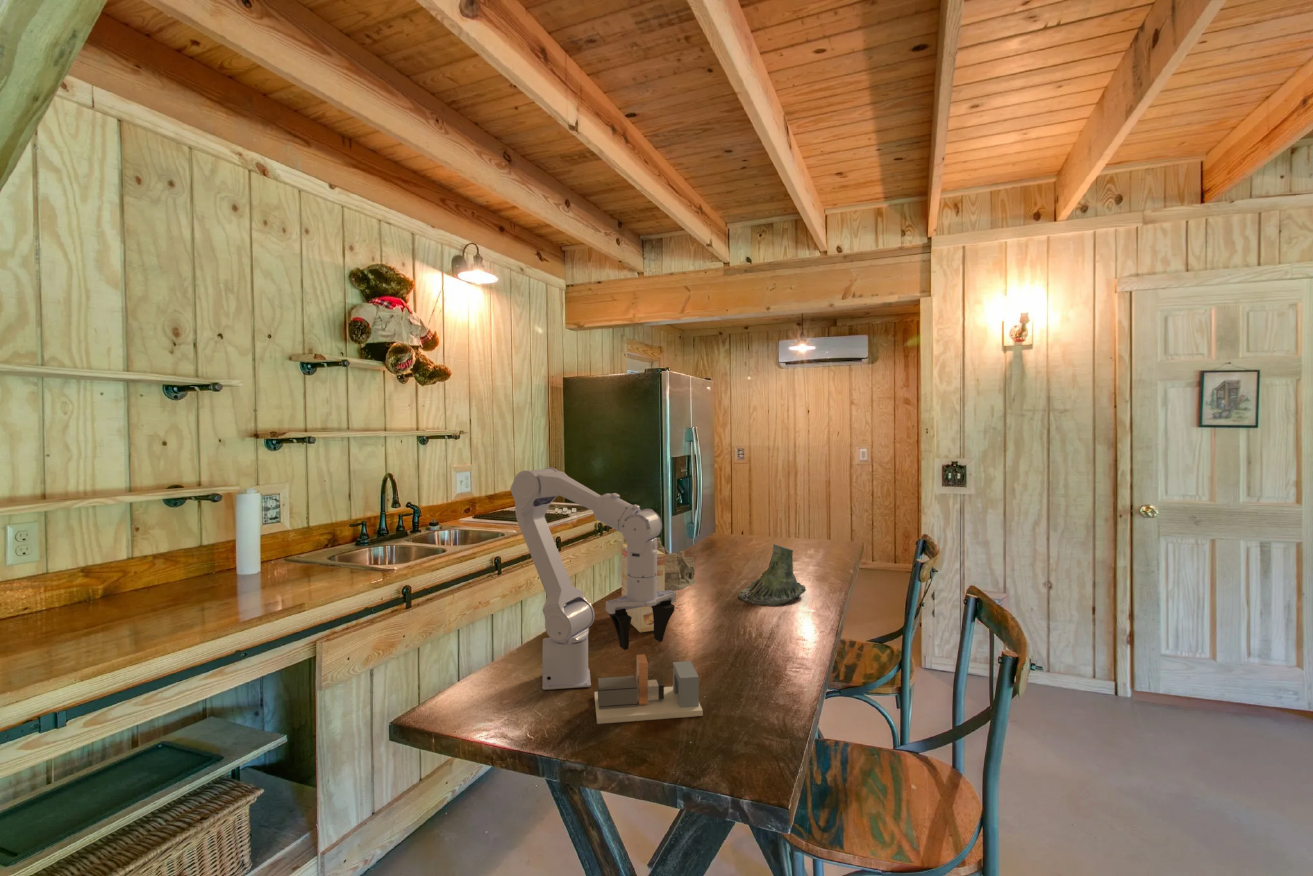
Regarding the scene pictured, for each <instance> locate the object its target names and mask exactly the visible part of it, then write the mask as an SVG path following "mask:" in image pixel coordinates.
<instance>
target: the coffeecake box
mask: <svg viewBox="0 0 1313 876" xmlns="http://www.w3.org/2000/svg"><path fill="white" fill-rule="evenodd" d="M657 591H665V554H664V553H662V552H660V551H658V550H657ZM625 595H627V543H625V544H624V543H623V544H621V597H622V596H625ZM626 612H627V613H628V614H627V615H629V616H631V617H632V619H631V622H630V625H631V626H633V627H634V628H635V629H636V630H637V631H638V632H639V633H646V632H654V618H653V611H652V606H645V607H639V608H634V609H629V610H626Z"/></svg>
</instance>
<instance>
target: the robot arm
mask: <svg viewBox="0 0 1313 876" xmlns="http://www.w3.org/2000/svg"><path fill="white" fill-rule="evenodd" d="M509 490H510V492H511V495H512V497H513V500H514V507H515V518H516V521H517V524H518V527H519V528H520V531H521V534H522V538H523V539H524V541H525V544H526V546H527V548H528V551H529V554H530V557H531V559H532V561H533V565H534V567H535V569H536V572H537V575H538V577H539V579H540V582H541V585H542V587H543V590H544V592H545V594H546V599H545V602H544V605H543V606H542V607H543V608H542V612H543V615H544V619H545V620H544V626H545V627H544V628H545V632H546V633H547V636H549V637H544V638H543V639H542V656H541V657H542V665H541V667H540V668H541V669H540V670H541V671H540V676H542V687H541V688H542V690H544V691H545V690H547V691H548V690H559V689H562V690H563V689H575V688H589V687H592V683H591V671H590V668H589V633H590V627H591V626H592V625H593V623H594V621H595V609H594V607H593V605H592V603H590V601H588V600H587V598H586V597H585V595H584V593H583V591H582V590H580V589H579V588H577V587H575V586H574V585H573V583H572V582H571V578H570V577H569V574H568V572H567V570H566V569H567V568H566V567H565V564H564V562H563V559H562V557H561V554H560V552H559V549H558V548H557V544H556V542H555V539H554V537H553V535H552V532H551V530H550V527H549V524H548V522H547V519H546V517H545V516H546V513H547V510H548V509H549V507H550V505H551V504H552V503H553V502H554V501H555V499H556V498H557V497H562V498H564V499H566V500H569V501H570V502H573V503H575V504H577V505H579V506H581V507H584V508H586V509H588V510H590V511H592V512H593V516H594V518H595V520H597V521H599V522H601V523H603V524H604V525H606V526H608V527H610V528H612V529H614V530H616V531H618V532H619V533H621V535H622V537H623V538H624V540H625V541H626V544H627V595H625V596H622V595H621V596H619V597H617V598H614V599H610V600H606V601H605V612H606V613H608V615H609V616H610V620H611V622H613V623H612V624H613V626H614V628H615V631H616V633H617V638H618V643H619V647H620V649H623V651H627V650H629V647H630V646H629V645H630V640H629V639H630V627H631V623H630V622H631V619H632V617H631V616H629V615H627V614H628V613H627V612H626V610H629V609H634V608H639V607H645V606H652V611H653V618H654V631H653V638H654V640H656V641H657V642H659V643H663V640H664V638H665V637H664V636H665V633H666V628H667V626H668V623H669V622H670V621H669V620H670V619H671V617H672V615H673V614H674V612H675V609H676V608H675V605H674V603H676V602H677V592H676V591H672V590H667V591H657V538H658V536H659V535H660V534H661V532H662V529H663V522H662V519H661V517H660V515H659V514H658V513H657V512H656V511H654V510H653V509H652V508H645V509H641V508H640V507H641V506H640V505H639V504H631V503H630V502H627V501H625V500H623V499H622V498H621V495H620V494H618V493H617V492H614V493H604V494H602V495H601V494H599V493H598V492H596V491H594V490H593V489H590V488H589V487H587V486H585V484H582V483H580V482H579V481H577V480H575V479H573V478H572V477H570V476H569V475H567V474H566V472H564V471H561V470H558V469H556V468H554V467H552V466H551V467H546V468H541V469H533V470H522V471H519V472H518V473H517V474H516V476H515V477H514V478H513V482H512V483H511V486H510V489H509Z"/></svg>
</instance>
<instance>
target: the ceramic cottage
mask: <svg viewBox="0 0 1313 876" xmlns="http://www.w3.org/2000/svg"><path fill="white" fill-rule="evenodd" d="M656 538H657V550H658V551H660V552H662V553H664V554H665V591H667V590H672V591H674V592H676V591H678V590H683V589H685V588H687V587H690V586H692V585H695V584H696V583H697V579H696V577H695V573H696V565H695V562H694V558H693V557H685V553H684V551H682V550H680V551H679V555H678V554H677V553H676V552H671V553H670V551H669V550H667V549H666V548H665V547H664V546H663V545H662V542H661V537H656Z"/></svg>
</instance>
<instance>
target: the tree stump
mask: <svg viewBox="0 0 1313 876" xmlns="http://www.w3.org/2000/svg"><path fill="white" fill-rule="evenodd" d="M793 551H794V550H793V549H791V548H788V547H785V546H782V545H779V544H775V543H774V544H773V547H772V554H771V556H770V562H769V563H768V568H767V570H763V572H762V573H761V575H760V577H759V578H757V579H756V580H755V581H751V583H750V585H747V586H746V587H745V588H744V589H742V590H740V591H739V593H738V598H739V599H741V600H742V601H744V602H746V603H749V604H753V605H757V606H758V605H759V606H766V607H767V606H770V607H771V606H772V607H777V606H784V605H787V604H789V603H792V602H794V601H795V600H796V599H798V598H799V597H800V596H801V595H802V594H804V593H805V592H806V591H807V589H806V586H805V585H804V584H801V583H800V582H798V580H797V577H796V576H795V574H794V569H793V568H794V567H793V565H794V563H793V559H794V557H793Z"/></svg>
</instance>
